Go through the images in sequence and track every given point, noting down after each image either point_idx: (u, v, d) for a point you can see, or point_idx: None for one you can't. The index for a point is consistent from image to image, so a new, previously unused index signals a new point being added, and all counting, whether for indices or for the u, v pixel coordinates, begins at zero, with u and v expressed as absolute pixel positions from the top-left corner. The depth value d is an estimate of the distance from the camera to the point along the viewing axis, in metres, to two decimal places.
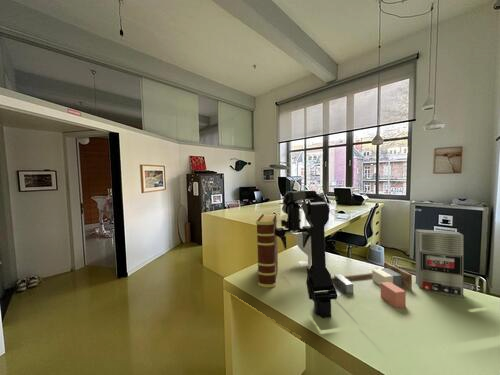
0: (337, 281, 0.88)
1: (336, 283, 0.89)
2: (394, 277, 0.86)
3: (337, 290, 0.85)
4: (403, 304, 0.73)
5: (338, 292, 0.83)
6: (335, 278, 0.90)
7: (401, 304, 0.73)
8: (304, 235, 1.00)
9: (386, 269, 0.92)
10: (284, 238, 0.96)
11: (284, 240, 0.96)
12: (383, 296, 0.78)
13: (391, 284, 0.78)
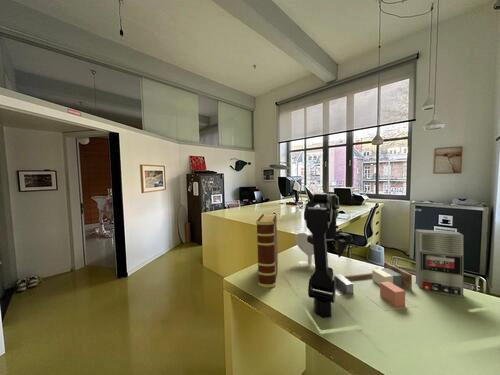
0: (337, 281, 0.88)
1: (336, 283, 0.89)
2: (394, 277, 0.86)
3: (337, 290, 0.85)
4: (403, 304, 0.73)
5: (338, 292, 0.83)
6: (335, 278, 0.90)
7: (401, 304, 0.73)
8: (340, 243, 0.90)
9: (386, 269, 0.92)
10: None
11: None
12: (383, 296, 0.78)
13: (391, 284, 0.78)
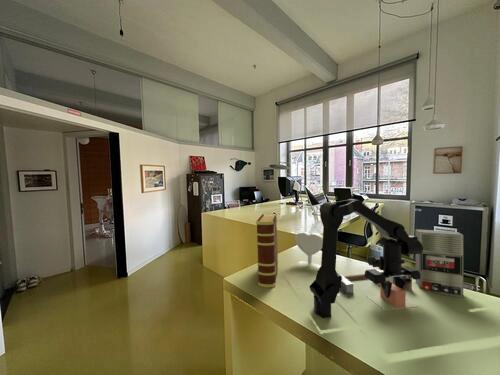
0: None
1: None
2: None
3: None
4: (403, 304, 0.73)
5: None
6: None
7: (401, 304, 0.73)
8: (399, 280, 0.76)
9: None
10: (390, 285, 0.73)
11: (389, 287, 0.73)
12: (383, 296, 0.78)
13: None
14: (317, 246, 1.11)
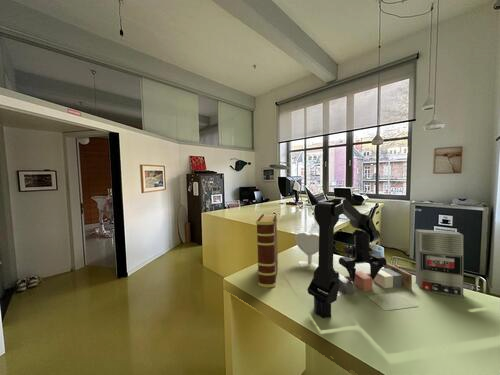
0: None
1: None
2: (394, 277, 0.86)
3: None
4: (370, 289, 0.84)
5: (338, 292, 0.83)
6: None
7: (368, 289, 0.84)
8: (373, 265, 0.88)
9: (386, 269, 0.92)
10: (354, 270, 0.84)
11: (353, 272, 0.84)
12: (354, 283, 0.90)
13: (361, 273, 0.89)
14: (317, 246, 1.11)
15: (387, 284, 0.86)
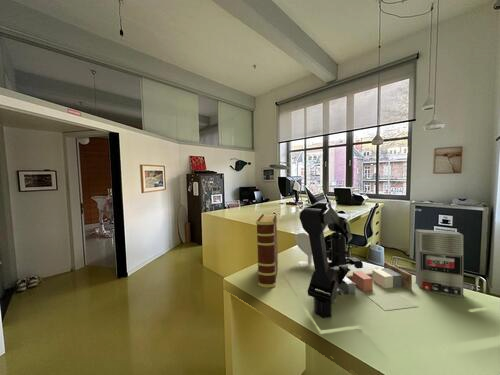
0: None
1: None
2: (394, 277, 0.86)
3: (339, 290, 0.85)
4: (370, 289, 0.84)
5: (340, 292, 0.83)
6: None
7: (368, 289, 0.84)
8: (340, 270, 0.86)
9: (386, 269, 0.92)
10: (339, 273, 0.83)
11: (339, 275, 0.84)
12: None
13: (361, 273, 0.89)
14: None
15: (387, 284, 0.86)
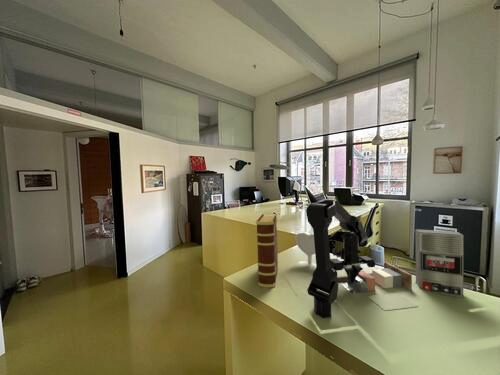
0: None
1: None
2: (394, 277, 0.86)
3: (351, 288, 0.86)
4: (373, 289, 0.85)
5: (353, 290, 0.84)
6: None
7: (371, 289, 0.84)
8: (353, 268, 0.86)
9: (386, 269, 0.92)
10: (352, 271, 0.84)
11: (351, 273, 0.84)
12: None
13: (364, 272, 0.89)
14: None
15: (387, 284, 0.86)
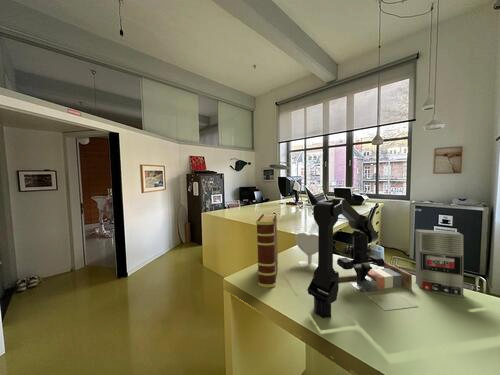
0: None
1: (359, 281, 0.91)
2: (394, 277, 0.86)
3: (361, 287, 0.86)
4: (382, 288, 0.85)
5: (362, 289, 0.85)
6: None
7: (380, 288, 0.85)
8: (362, 267, 0.87)
9: (386, 269, 0.92)
10: (362, 270, 0.85)
11: (361, 272, 0.85)
12: None
13: (373, 271, 0.90)
14: (317, 246, 1.11)
15: (387, 284, 0.86)
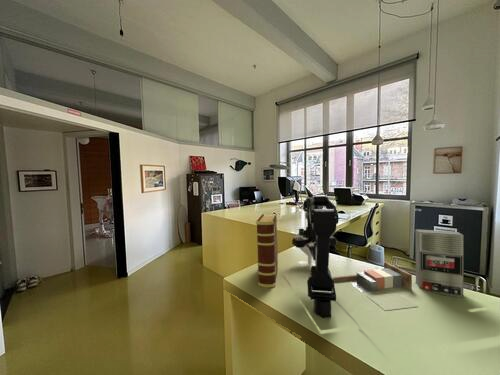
0: (360, 279, 0.90)
1: (359, 281, 0.91)
2: (394, 277, 0.86)
3: (361, 287, 0.86)
4: (382, 288, 0.85)
5: (362, 289, 0.85)
6: (358, 276, 0.91)
7: (380, 288, 0.85)
8: (316, 246, 0.90)
9: (386, 269, 0.92)
10: (314, 249, 0.88)
11: (314, 251, 0.88)
12: None
13: (373, 271, 0.90)
14: None
15: (387, 284, 0.86)
